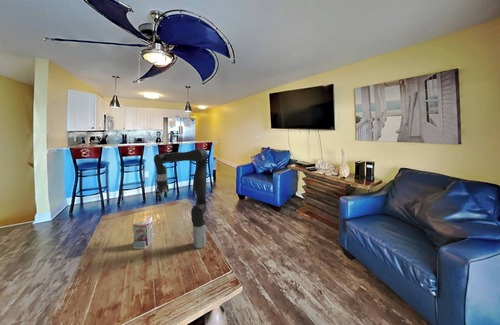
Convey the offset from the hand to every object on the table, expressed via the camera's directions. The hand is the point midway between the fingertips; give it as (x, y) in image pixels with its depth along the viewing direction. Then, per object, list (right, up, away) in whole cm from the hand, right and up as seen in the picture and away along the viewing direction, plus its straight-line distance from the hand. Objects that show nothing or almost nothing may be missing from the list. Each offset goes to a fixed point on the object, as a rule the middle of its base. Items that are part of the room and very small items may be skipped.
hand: (163, 199), depth 148 cm
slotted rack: (-14, -35, -2) cm, 37 cm away
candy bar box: (-14, -34, -3) cm, 37 cm away
